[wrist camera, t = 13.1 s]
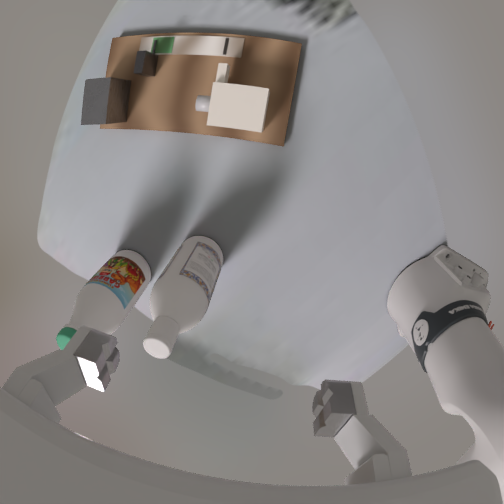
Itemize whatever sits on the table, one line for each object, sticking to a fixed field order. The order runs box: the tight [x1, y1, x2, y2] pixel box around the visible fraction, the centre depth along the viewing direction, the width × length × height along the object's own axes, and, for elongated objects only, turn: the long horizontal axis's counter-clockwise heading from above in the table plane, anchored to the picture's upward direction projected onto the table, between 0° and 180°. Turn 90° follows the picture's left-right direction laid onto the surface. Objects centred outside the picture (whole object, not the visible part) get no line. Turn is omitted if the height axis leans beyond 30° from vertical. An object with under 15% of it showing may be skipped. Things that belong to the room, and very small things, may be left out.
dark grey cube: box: [81, 77, 131, 125], centre depth 30 cm, size 4×6×6 cm, turn 171°
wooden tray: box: [100, 33, 302, 146], centre depth 31 cm, size 26×14×2 cm, turn 81°
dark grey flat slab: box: [134, 40, 158, 77], centre depth 28 cm, size 1×5×4 cm, turn 171°
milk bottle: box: [56, 250, 151, 350], centre depth 37 cm, size 8×8×20 cm
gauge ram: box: [195, 63, 270, 133], centre depth 29 cm, size 8×8×5 cm
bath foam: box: [143, 236, 223, 358], centre depth 35 cm, size 7×7×20 cm
